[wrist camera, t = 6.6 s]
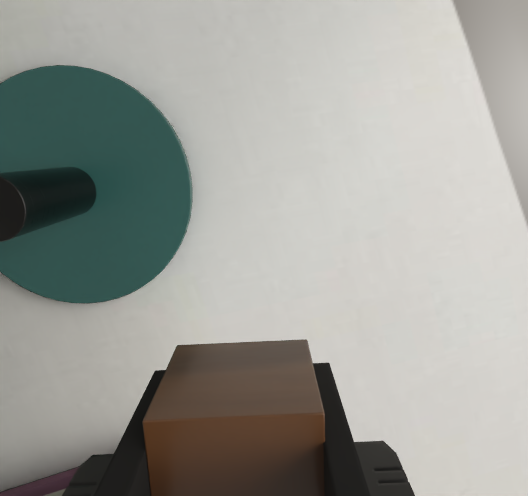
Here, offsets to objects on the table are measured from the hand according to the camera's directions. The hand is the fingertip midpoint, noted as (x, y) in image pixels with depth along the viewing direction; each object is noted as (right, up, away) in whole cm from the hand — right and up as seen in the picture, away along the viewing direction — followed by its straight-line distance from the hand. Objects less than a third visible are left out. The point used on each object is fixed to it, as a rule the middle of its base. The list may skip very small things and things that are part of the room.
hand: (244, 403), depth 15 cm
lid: (-12, +9, +15) cm, 21 cm away
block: (0, 0, 0) cm, 0 cm away
